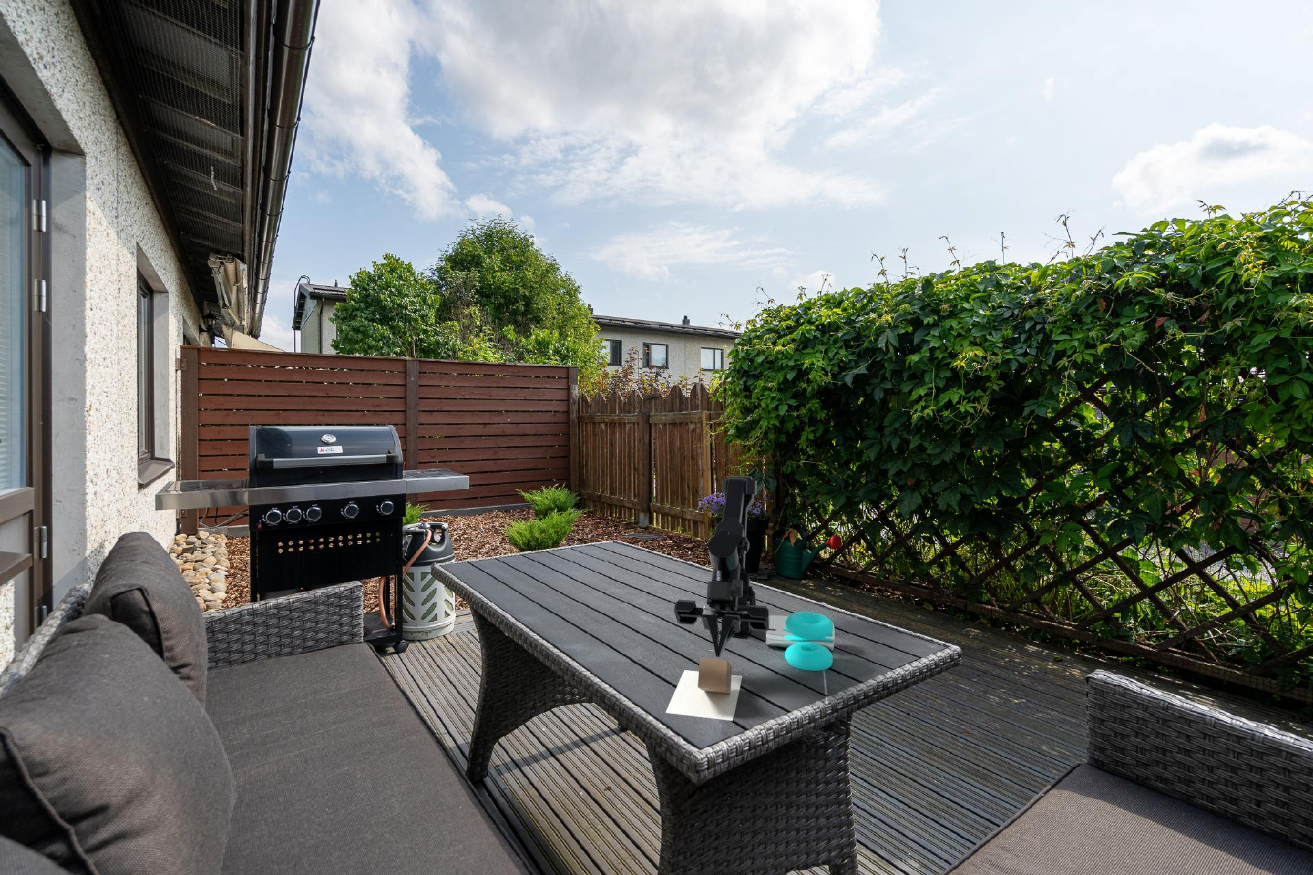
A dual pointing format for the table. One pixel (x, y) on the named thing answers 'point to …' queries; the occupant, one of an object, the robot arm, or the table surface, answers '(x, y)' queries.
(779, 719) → the table surface
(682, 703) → the white mat
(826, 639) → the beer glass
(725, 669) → the walnut block
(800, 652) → the donuts
